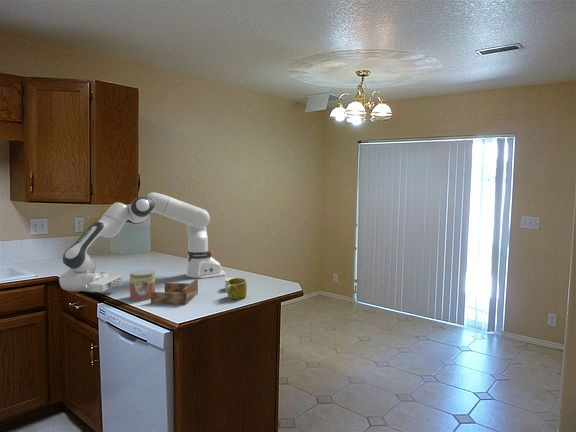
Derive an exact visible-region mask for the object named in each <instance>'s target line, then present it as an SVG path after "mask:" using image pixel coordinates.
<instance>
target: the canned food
mask: <svg viewBox="0 0 576 432" xmlns="http://www.w3.org/2000/svg"><path fill="white" fill-rule="evenodd" d="M155 273H156V270H153V269H138V270H133V271H130V272H129V292H130V296H129V298H130V301H135V302H138V301H139V302H141V301H142V302H143V301H151V292H156V274H155Z"/></svg>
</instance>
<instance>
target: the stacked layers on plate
mask: <svg viewBox="0 0 576 432" xmlns="http://www.w3.org/2000/svg"><path fill="white" fill-rule="evenodd" d="M233 278H234V277H233V276H232V277H231V276H230V277H225V279H224V280H225V281H224V282H225V284H224V286H225V287H224V288H226V286H227V281H228V280H230V279H233Z"/></svg>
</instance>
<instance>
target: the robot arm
mask: <svg viewBox="0 0 576 432" xmlns="http://www.w3.org/2000/svg"><path fill="white" fill-rule="evenodd" d="M151 213H156V214H158V215H161V216H163V217H167V218H169V219H172V220H175V221H177V222H180V223H182V224H184V225H186V231H187V239H188V240H187V243H188V245H187V246H188V248H187V249H188V251H187V269H186V273H185V276H186V277H187V278H188V277H189V278H194V279H196V278H197V279H207V278H214V277H221V276H226V271H225V270H222V266H221V263H220V262H219V261H218V260H216V259H215V258H213V257H212V256H214V254H215V253H214V252H213V251H210V250H209V237H208V231H207V226H209V224H210V221H211V215H210V214H209V212H208V211H207V210H206V209H204V208H201V207H198V206H196V205H193V204H190V203H187V202H185V201H182V200H179V199H177V198H174V197H172V196H169V195H166V194H163V193H158V192H153V191H152V192H149V193H148V194H147V195H146V196H139V197H136V198H134V199H133V200H132V201H131V203H130V204H129V205H127V204H125V203H123V202H114V203H113V204H111V205H110V206H109V207H108V208H107V210H106V211H105V212H104V213H103V215H102V216H101V217H100V219H99V220H98V221H95V222H93V223H92V224H90V226H88V228H87V229H86V230H85V231H84V232H83V233H82V235H81V236H80V237H79V238H78V239H77V240H76V241H75V242H74V243H73V244H72V245H71V246H69V247H68V248H67V249H66V250H65V251H64V253H63V255H62V262H63V265H65V266H66V267H68V268H69V269H68V270H67V271H66V272H64V273H62V274H61V275H60V276H59V278H58V279H59V286H60V287H61V289H63V290H65V291H69V292H87V293H103V292H105V291H107V290H109V289H111V288H113V287H121V286H123V285H125V282H124V280H123V275H122V274H116V273H107V272H104V271H103V272H95V271H96V269H97V265H96V262H95V260H94V259H93V258H92V257H91V256H90V255H89V254H88V251H87V250H88V249H89V247H91V246H92V244H93V243H94V241H96V239H97V238H99V237H103V238H107V239H108V238H109V239H111V238H113V237H114V238H115V237H116V236H117V235H118V234H119V233H120V232H121V230H122V228H123V227H124V225H125V223H130V224H132V225H140V224H142V223H144V222H145V221H146V219H147V218H148V217H149V216H150V214H151Z"/></svg>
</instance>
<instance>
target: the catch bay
mask: <svg viewBox="0 0 576 432" xmlns="http://www.w3.org/2000/svg"><path fill="white" fill-rule="evenodd" d="M198 279H199V278H197V279H196V278H194V280H192V281H191V282H189V283H186V282H165V283H164V291H155V292H151V299H150V304H155V305H156V304H157V305H159V304H160V305H161V304H163V305H187V304H188V303H190V301H192V300H193V299H194V298H195V297H196V296H197V295H198V294H199V280H198Z"/></svg>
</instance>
